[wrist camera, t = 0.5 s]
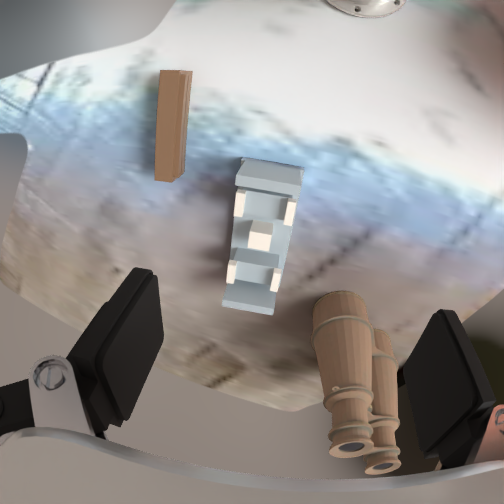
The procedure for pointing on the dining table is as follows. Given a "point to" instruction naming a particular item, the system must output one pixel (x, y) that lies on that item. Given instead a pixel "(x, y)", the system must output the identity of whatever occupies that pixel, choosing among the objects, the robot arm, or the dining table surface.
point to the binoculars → (357, 381)
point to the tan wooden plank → (172, 124)
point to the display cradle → (261, 233)
